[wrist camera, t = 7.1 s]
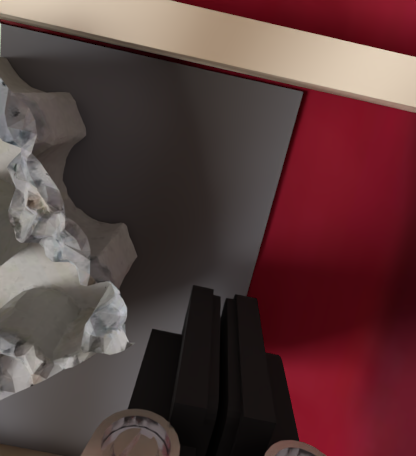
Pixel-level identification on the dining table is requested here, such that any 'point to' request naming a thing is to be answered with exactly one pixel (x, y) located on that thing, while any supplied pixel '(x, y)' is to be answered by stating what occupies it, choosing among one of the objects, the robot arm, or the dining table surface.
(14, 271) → the egg carton
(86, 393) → the channel
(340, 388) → the dining table surface
